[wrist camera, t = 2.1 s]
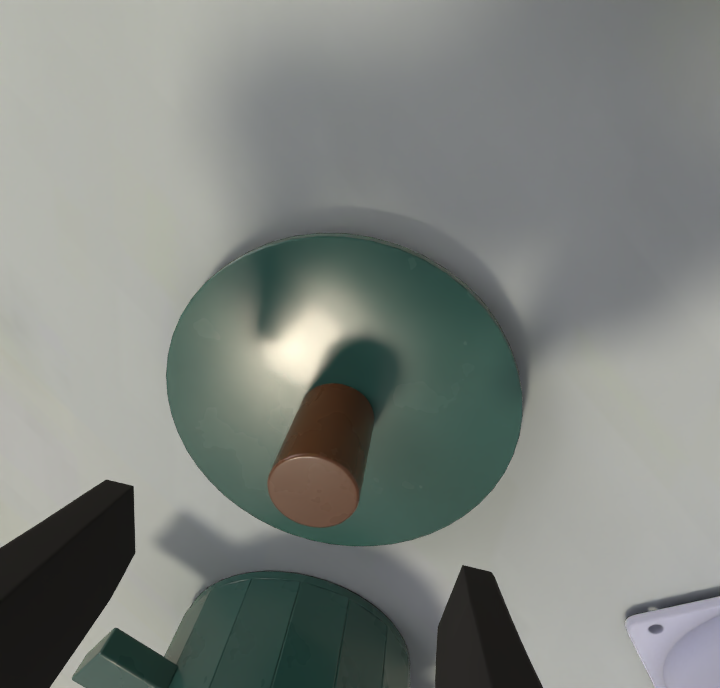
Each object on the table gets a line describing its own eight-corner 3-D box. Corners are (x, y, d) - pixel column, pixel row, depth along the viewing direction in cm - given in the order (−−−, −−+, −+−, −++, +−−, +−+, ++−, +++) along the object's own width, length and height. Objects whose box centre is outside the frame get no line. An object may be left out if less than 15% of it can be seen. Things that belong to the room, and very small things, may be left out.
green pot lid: (315, 140, 13) (261, 152, 9) (595, 397, 15) (656, 504, 11) (124, 397, 18) (29, 484, 14) (360, 568, 20) (341, 689, 16)
